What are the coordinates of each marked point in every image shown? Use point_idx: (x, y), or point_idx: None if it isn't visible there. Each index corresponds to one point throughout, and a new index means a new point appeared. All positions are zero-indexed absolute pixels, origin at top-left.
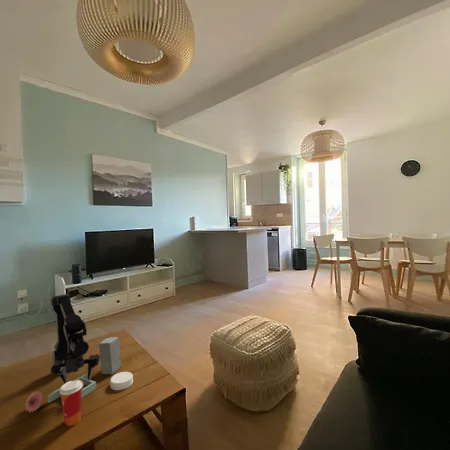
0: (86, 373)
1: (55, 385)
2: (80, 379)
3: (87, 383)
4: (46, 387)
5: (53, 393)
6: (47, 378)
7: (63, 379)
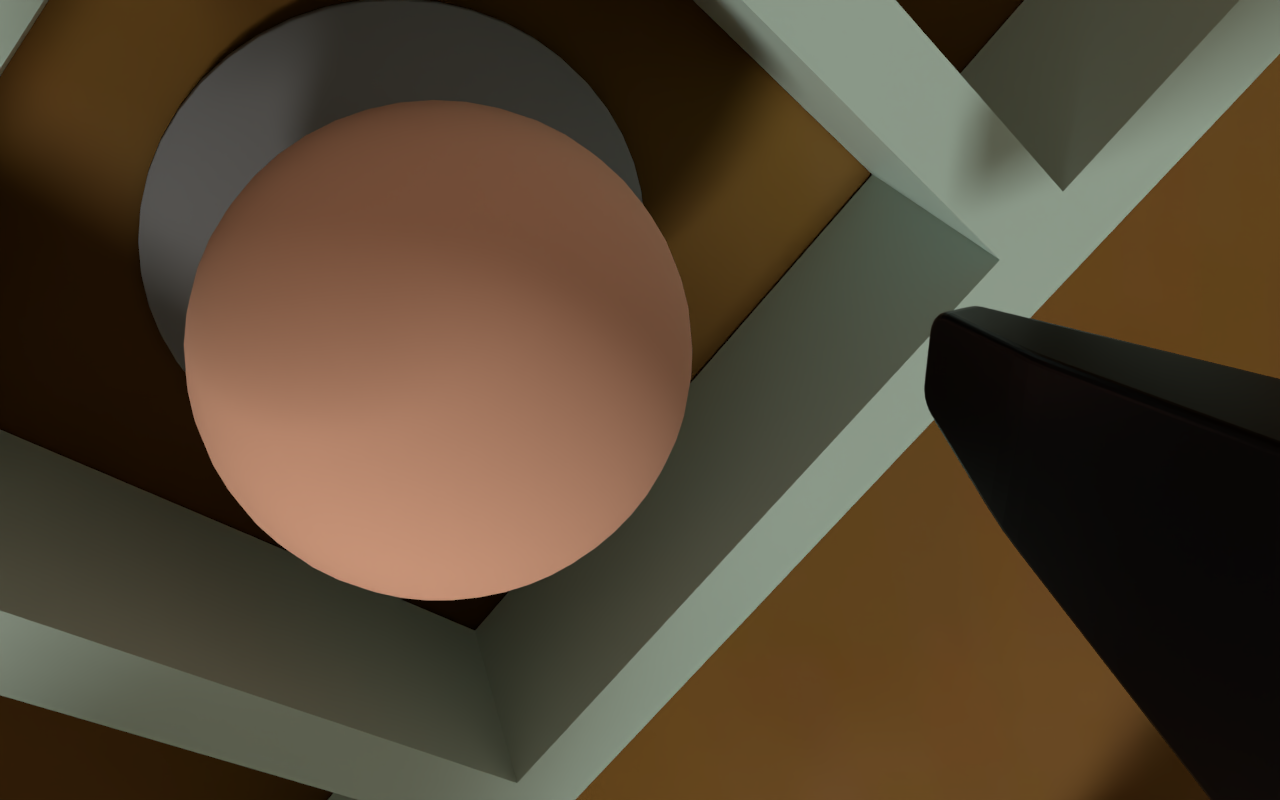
0: None
1: None
2: (512, 736)
3: (167, 580)
4: None
5: (1227, 8)
6: None
7: (1236, 393)
